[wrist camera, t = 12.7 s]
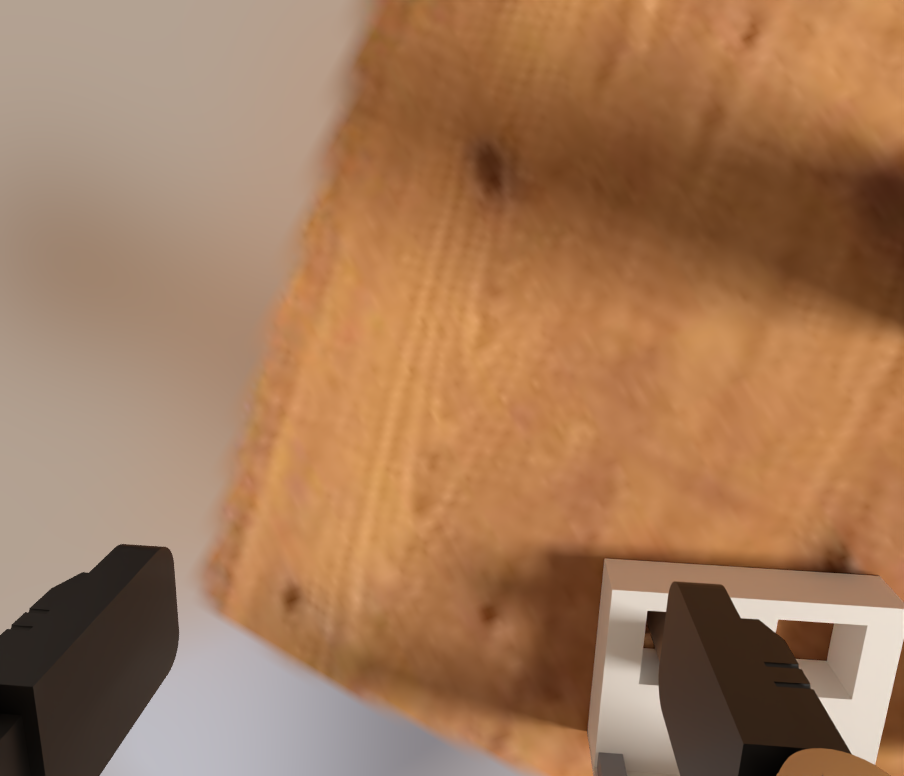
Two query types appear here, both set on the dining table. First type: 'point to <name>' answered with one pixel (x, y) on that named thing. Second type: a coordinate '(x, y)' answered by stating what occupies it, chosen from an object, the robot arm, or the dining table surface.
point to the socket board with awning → (755, 597)
